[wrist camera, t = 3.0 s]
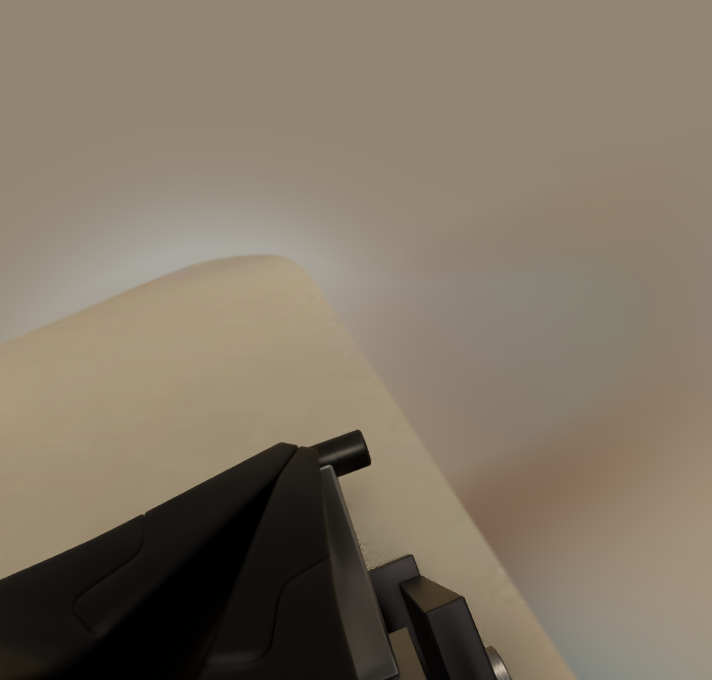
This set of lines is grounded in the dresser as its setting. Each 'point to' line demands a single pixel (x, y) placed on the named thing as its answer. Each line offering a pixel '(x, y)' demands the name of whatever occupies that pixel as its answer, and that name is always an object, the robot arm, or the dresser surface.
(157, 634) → the robot arm
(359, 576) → the lever
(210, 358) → the dresser surface
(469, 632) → the bracket
